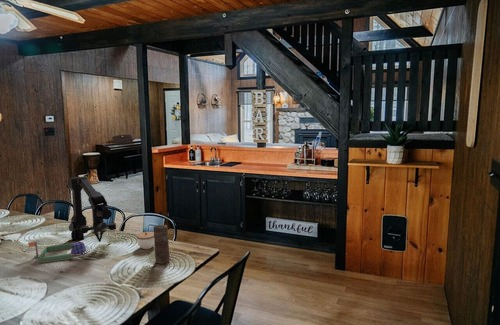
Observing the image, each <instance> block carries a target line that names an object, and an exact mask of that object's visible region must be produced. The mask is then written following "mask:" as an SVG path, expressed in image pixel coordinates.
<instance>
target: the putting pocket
mask: <svg viewBox="0 0 500 325" xmlns="http://www.w3.org/2000/svg"><path fill="white" fill-rule="evenodd" d="M74 243H75V242H71V243H63V244H55V245H47V246H44V247H43V249H42V251H41V253H40V254H39V251H38V242H37V241H31V242H27V245H28V247H29V248H30V247H35V255H34V257H33V258H34V259H38V264H43V263H48V262H57V261H62V260H69V259H70V260H71V259H72V255H71V253H70V254H67V253H63V254H56V255H49V256H46V255H47V252H52V251H59V250H67V249H72V245H73V244H74Z"/></svg>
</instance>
